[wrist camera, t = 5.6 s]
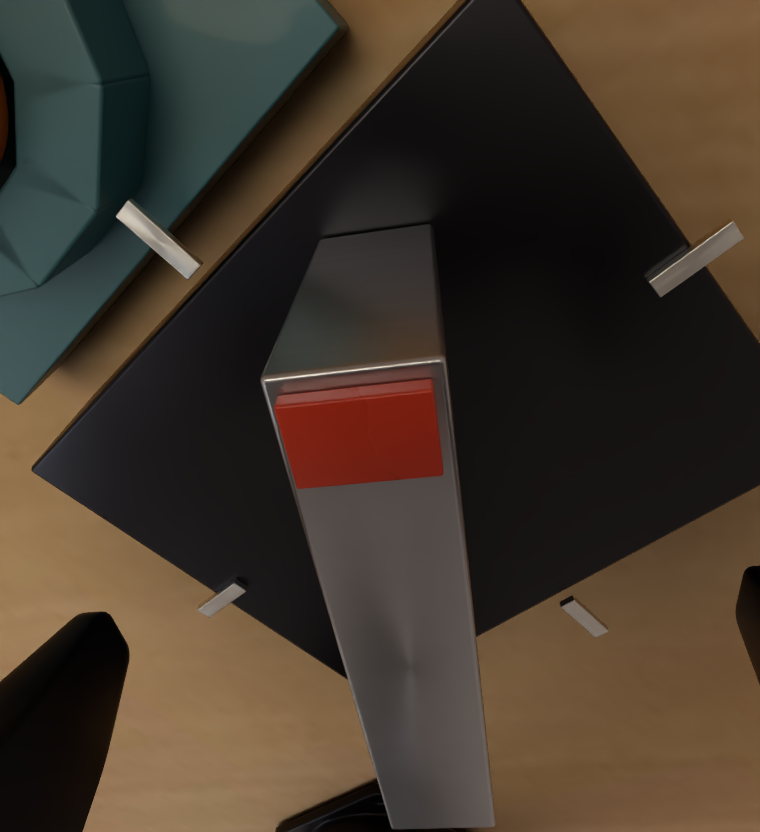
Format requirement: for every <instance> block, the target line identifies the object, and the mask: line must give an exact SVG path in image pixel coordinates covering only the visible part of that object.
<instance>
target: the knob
mask: <svg viewBox="0 0 760 832" xmlns="http://www.w3.org/2000/svg"><path fill="white" fill-rule="evenodd" d="M260 381H261V385H262V388H263V392H264V395H265V398H266V402H267V405H268V409H269V412H270V415H271V419H272V422H273V426H274V429H275V433H276V436H277V439H278V443H279V446H280V450H281V453H282V456H283V460H284V463H285V467H286V470H287V473H288V477H289V480H290V484H291V487H292V491H293V494H294V497H295V501H296V504H297V508H298V511H299V514H300V518H301V521H302V525H303V528H304V531H305V535H306V538H307V542H308V545H309V549H310V552H311V555H312V559H313V562H314V566H315V569H316V572H317V576H318V579H319V583H320V586H321V589H322V593H323V596H324V600H325V603H326V607H327V610H328V613H329V617H330V620H331V624H332V627H333V630H334V634H335V637H336V641H337V644H338V647H339V651H340V654H341V658H342V661H343V665H344V668H345V671H346V675H347V678H348V682H349V685H350V688H351V692H352V695H353V699H354V702H355V705H356V709H357V712H358V716H359V719H360V723H361V726H362V729H363V733H364V736H365V740H366V743H367V746H368V750H369V753H370V757H371V760H372V763H373V767H374V770H375V774H376V777H377V781H378V784H379V787H380V791H381V794H382V798H383V801H384V804H385V808H386V811H387V815H388V818H389V821H390V825H391V828H392V829H431V828H474V827H493V826H495V822H496V821H495V812H494V802H493V792H492V783H491V773H490V764H489V754H488V744H487V735H486V725H485V716H484V706H483V697H482V687H481V677H480V668H479V658H478V649H477V639H476V630H475V620H474V610H473V601H472V591H471V582H470V572H469V563H468V553H467V544H466V534H465V524H464V515H463V505H462V496H461V486H460V477H459V467H458V458H457V448H456V438H455V429H454V419H453V410H452V400H451V391H450V381H449V372H448V362H447V352H446V343H445V333H444V324H443V314H442V305H441V295H440V285H439V276H438V266H437V257H436V247H435V238H434V228H433V227H432V225H429V224H426V225H419V226H412V227H405V228H398V229H391V230H384V231H376V232H369V233H362V234H355V235H348V236H341V237H334V238H327V239H322V240H320V241H319V243H318V245H317V248H316V250H315V252H314V254H313V257H312V259H311V261H310V264H309V266H308V268H307V271H306V273H305V275H304V278H303V280H302V282H301V285H300V287H299V289H298V292H297V294H296V296H295V299H294V301H293V303H292V306H291V308H290V310H289V313H288V315H287V317H286V320H285V322H284V324H283V326H282V329H281V331H280V333H279V336H278V338H277V340H276V343H275V345H274V347H273V350H272V352H271V354H270V357H269V359H268V361H267V364H266V366H265V368H264V371H263V373H262V375H261V380H260Z"/></svg>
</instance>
